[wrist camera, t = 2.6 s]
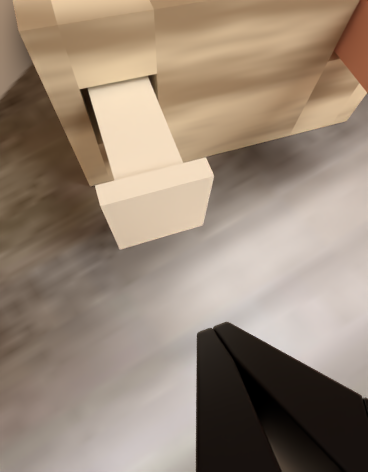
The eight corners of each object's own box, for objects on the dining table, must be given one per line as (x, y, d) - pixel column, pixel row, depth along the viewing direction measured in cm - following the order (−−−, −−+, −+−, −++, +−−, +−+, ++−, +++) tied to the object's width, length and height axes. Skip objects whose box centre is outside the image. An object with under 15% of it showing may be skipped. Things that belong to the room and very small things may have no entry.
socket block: (346, 121, 25) (463, -41, 15) (90, 186, 22) (18, 31, 12) (288, 39, 29) (350, -132, 19) (64, 83, 26) (-6, -99, 16)
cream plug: (202, 225, 17) (214, 175, 12) (119, 249, 16) (100, 206, 12) (145, 81, 21) (137, 6, 17) (77, 94, 20) (51, 20, 16)
